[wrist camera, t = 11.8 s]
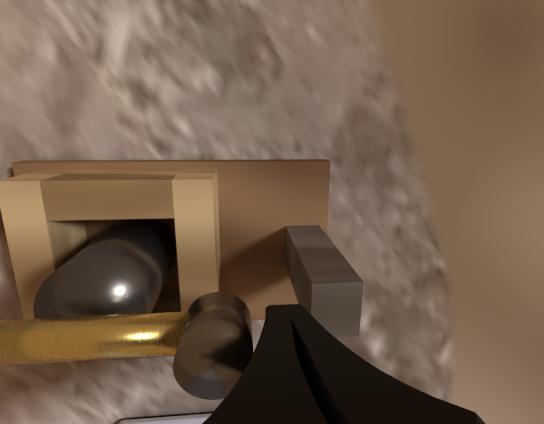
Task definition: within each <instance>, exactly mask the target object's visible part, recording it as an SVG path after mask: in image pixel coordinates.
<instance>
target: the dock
mask: <svg viewBox="0 0 544 424" xmlns="http://www.w3.org/2000/svg"><path fill="white" fill-rule="evenodd" d="M12 168H13V173H14V177H11V178H7V179H3V180H0V209H1V214H2V218H3V223H4V228H5V233H6V237H7V242H8V247H9V252H10V256H11V261H12V266H13V271H14V276H15V280H16V285H17V290H18V295H19V299H20V304H21V309H22V314H23V318H24V319H35V318H34V312H33V305H34V299H35V296H36V293H37V291H38V289H39V287H40V285H41V284H42V283H43V282H44V280H45V279H46V278H48V277H49V276H50V275H51V274H52V273H54V272H55V271H56V270H57V269H59V268H60V267H61V266H63V265H64V264H65V263H66V262H68V261H69V260H70V259H71V258H73V257H74V256H75V255H77V254H78V253H79V252H80V251H82V250H83V249H84V248H85V247H87V246H88V245H89V244H91V243H92V242H93V241H94V240H96V239H97V238H98V237H100V236H101V235H102V234H103V233H105V232H106V231H107V230H108V229H110V228H111V227H112V226H114V225H115V224H116V223H117V222H119V221H120V220H122V219H157V220H159V221H161V222H162V223H164V224H165V225H166V226H167V227H168V228H169V229H170V230H171V232H172V233H173V235H174V237H175V239H176V246H177V257H176V260H175V262H174V265H173V267H172V269H171V271H170V273H169V275H168V278H167V280H166V282H165V284H164V286H163V289H162V291H161V293H160V295H159V297H158V299H157V302H156V304H155V306H154V308H153V310H152V312H151V313H166V312H187V311H188V309H189V307H190V306H191V304H192V303H193V302H194V301H195V300H196V299H198V298H199V297H201V296H203V295H205V294H208V293H211V292H227V293H230V294H233V295H235V296H237V297H239V298H240V299H241V300H242V301H243V302H244V303H245V304H246V305H247V307H248V309H249V311H250V314H251V320H265V308H266V307H267V306H268V305H284V304H301V305H302V306H303V307H304V308H305V309H306V310H307V311H308V312H309V313H310V314H311V315H312V316H313V317H314V318H315V319H316V320H317V321H318V322H319V323H320V324H321V325H322V326H323V327H324V328H325V329H326V330H327V331H328V332H329V333H330V334H332V335H333V336H334V337H335V338H337V337H355V336H359V329H360V317H361V305H362V293H363V281H362V279H361V278H360V277H359V276H358V274H357V273H356V272H355V271H354V269H353V268H352V267H351V265H350V264H349V263H348V262H347V260H346V259H345V258H344V257H343V255H342V254H341V253H340V251H339V250H338V249H337V248H336V246H335V245H334V244H333V243H332V241H331V240H330V239H329V237H328V236H327V218H328V198H329V178H330V161H328V160H326V159H317V160H75V161H19V162H13V163H12ZM163 356H175V355H163ZM146 357H161V356H146ZM129 358H143V357H129ZM111 359H126V358H111ZM99 360H109V359H99ZM77 361H92V360H77ZM60 362H74V361H60ZM42 363H57V362H42ZM33 364H40V363H33Z"/></svg>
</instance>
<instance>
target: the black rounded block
mask: <svg viewBox="0 0 544 424" xmlns="http://www.w3.org/2000/svg"><path fill="white" fill-rule="evenodd" d="M176 257H177V246H176V239H175V237H174V235H173V233H172V232H171V230H170V229H169V228H168V227H167V226H166V225H165V224H164V223H162V222H161V221H159V220H157V219H122V220H120V221H119V222H117V223H116V224H115V225H114V226H112V227H111V228H110V229H108V230H107V231H106V232H105V233H103V234H102V235H101V236H100V237H98V238H97V239H96V240H94V241H93V242H92V243H91V244H89V245H88V246H87V247H85V248H84V249H83V250H82V251H80V252H79V253H78V254H77V255H75V256H74V257H73V258H71V259H70V260H69V261H68V262H66V263H65V264H64V265H63V266H61V267H60V268H59V269H57V270H56V271H55V272H54V273H52V274H51V275H50V276H49V277H48V278H46V279H45V280H44V282H43V283H42V284H41V285H40V287H39V289H38V291H37V293H36V296H35V299H34V305H33V312H34V318H35V319H36V318H58V317H79V316H101V315H123V314H144V313H151V312H152V310H153V308H154V306H155V304H156V302H157V299H158V297H159V295H160V293H161V291H162V289H163V286H164V284H165V282H166V280H167V278H168V275H169V273H170V271H171V269H172V267H173V265H174V262H175V260H176ZM94 360H99V359H94Z"/></svg>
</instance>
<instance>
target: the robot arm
mask: <svg viewBox="0 0 544 424" xmlns="http://www.w3.org/2000/svg"><path fill="white" fill-rule="evenodd" d="M118 424H485V423H484V422H483V420H482V419H481V418H480V417H479V416H478V415H477V414H476V413H475V412H473V411H470V410H467V409H464V408H462V407H459V406H456V405H454V404H451V403H448V402H446V401H443V400H440V399H438V398H435V397H433V396H430V395H428V394H426V393H424V392H422V391H419V390H417V389H415V388H413V387H411V386H409V385H407V384H405V383H403V382H401V381H399V380H397V379H395V378H393V377H391V376H390V375H388V374H386V373H384V372H382V371H381V370H379V369H377V368H376V367H374V366H373V365H371V364H370V363H368V362H367V361H365V360H364V359H362V358H361V357H359V356H358V355H356V354H355V353H354V352H352V351H351V350H350V349H348V348H347V347H346V346H345V345H343V344H342V343H341V342H340V341H338V340H337V339H336V338H335V337H334V336H333V335H332V334H330V333H329V332H328V331H327V330H326V329H325V328H324V327H323V326H322V325H321V324H320V323H319V322H318V321H317V320H316V319H315V318H314V317H313V316H312V315H311V314H310V313H309V312H308V311H307V310H306V309H305V308H304V307H303V306H302V305H301V304H284V305H268V306H267V307H266V308H265V322H264V326H263V330H262V333H261V336H260V339H259V341H258V344H257V346H256V348H255V351H254V353H253V355H252V357H251V359H250V361H249V363H248V365H247V367H246V368H245V370H244V372H243V373H242V375H241V377H240V378H239V380H238V381H237V383H236V384H235V386H234V387H233V388H232V390H231V391H230V393H229V394H228V395H227V396H226V398H225V399H224V400H223V401H222V402H221V404H220V405H219V406H218V407H217V408H216V409H215V411H214V412H213V413H211V414H198V415H184V416H171V417H158V418H144V419H131V420H122V421H120V422H119V423H118Z"/></svg>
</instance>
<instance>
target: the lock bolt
mask: <svg viewBox="0 0 544 424" xmlns="http://www.w3.org/2000/svg"><path fill="white" fill-rule="evenodd" d="M163 355H175V358H174V362H173V372H174V376H175V378H176V380H177V382H178V384H179V385H180V386H181V387H182V388H183V389H184V390H185V391H186V392H188V393H189V394H191V395H193V396H195V397H198V398H202V399H208V400H216V399H223V398H226V396H227V395H228V394H229V393H230V391H231V390H232V388H233V387H234V386H235V384H236V383H237V381H238V380H239V378H240V377H241V375H242V373H243V372H244V370H245V368H246V367H247V365H248V363H249V361H250V359H251V357H252V355H253V341H252V325H251V314H250V311H249V309H248V307H247V305H246V304H245V303H244V302H243V301H242V300H241V299H240V298H239V297H237V296H235V295H233V294H230V293H227V292H211V293H208V294H205V295H203V296H201V297H199V298H198V299H196V300H195V301H194V302H193V303H192V304H191V306H190V307H189V309H188V311H187V312H166V313H144V314H123V315H101V316H79V317H58V318H36V319H14V320H0V365H8V364H25V363H42V362H60V361H77V360H94V359H111V358H129V357H146V356H163Z"/></svg>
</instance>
